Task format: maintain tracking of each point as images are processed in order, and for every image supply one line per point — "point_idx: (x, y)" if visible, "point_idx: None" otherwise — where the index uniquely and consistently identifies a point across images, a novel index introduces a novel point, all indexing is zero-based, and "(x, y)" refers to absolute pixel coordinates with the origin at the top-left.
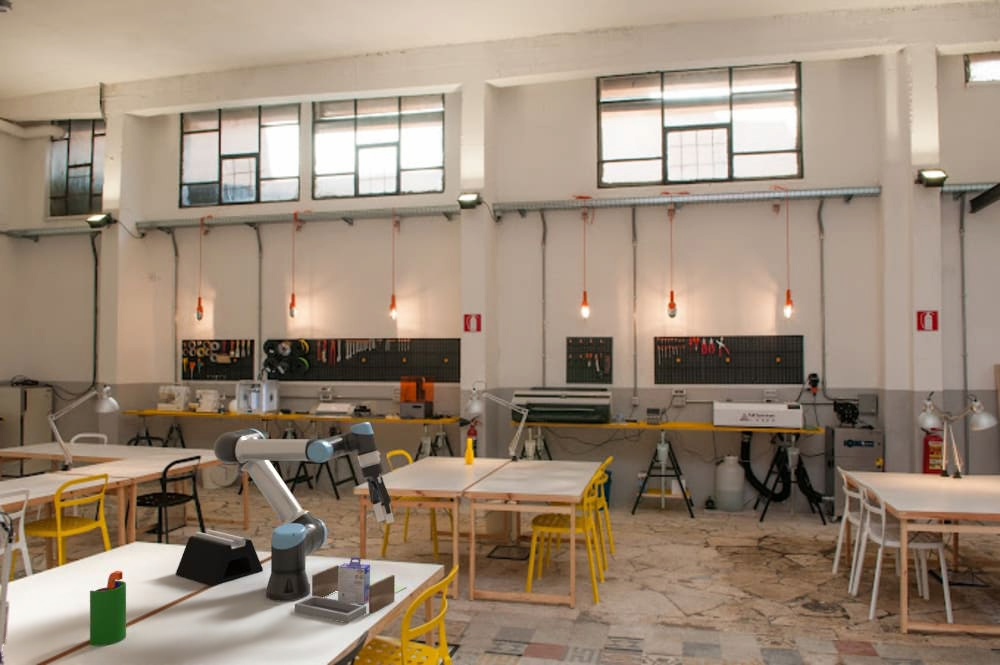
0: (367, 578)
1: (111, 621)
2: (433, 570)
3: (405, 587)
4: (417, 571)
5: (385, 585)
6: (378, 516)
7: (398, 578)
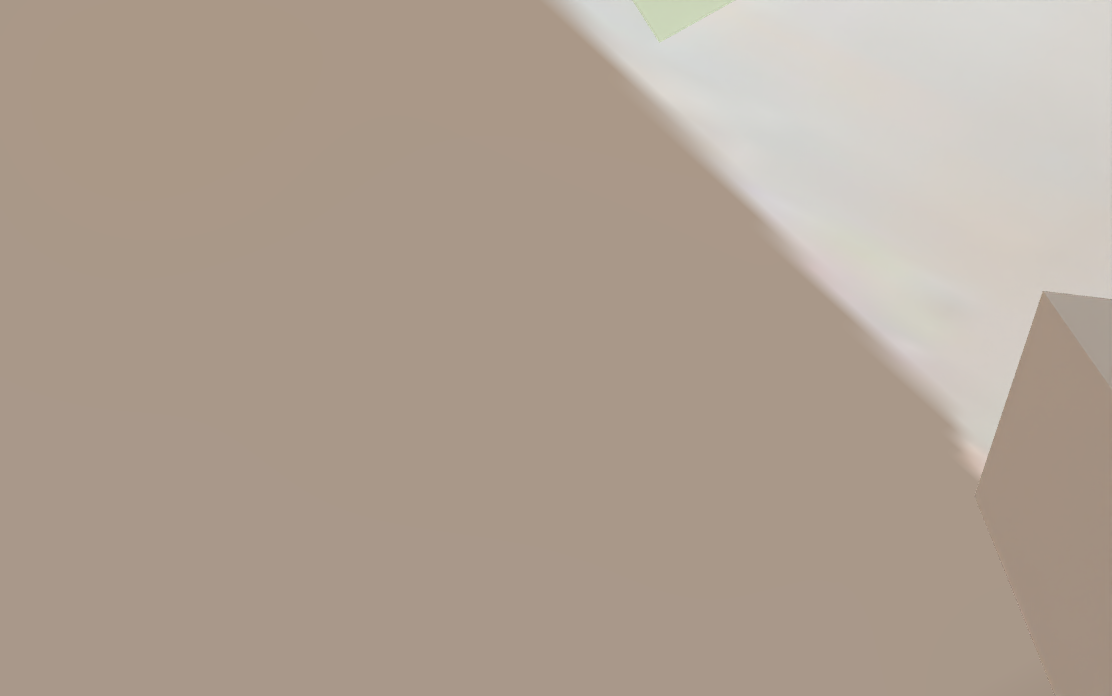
0: None
1: None
2: None
3: (651, 27)
4: None
5: None
6: (1078, 445)
7: (1030, 115)
